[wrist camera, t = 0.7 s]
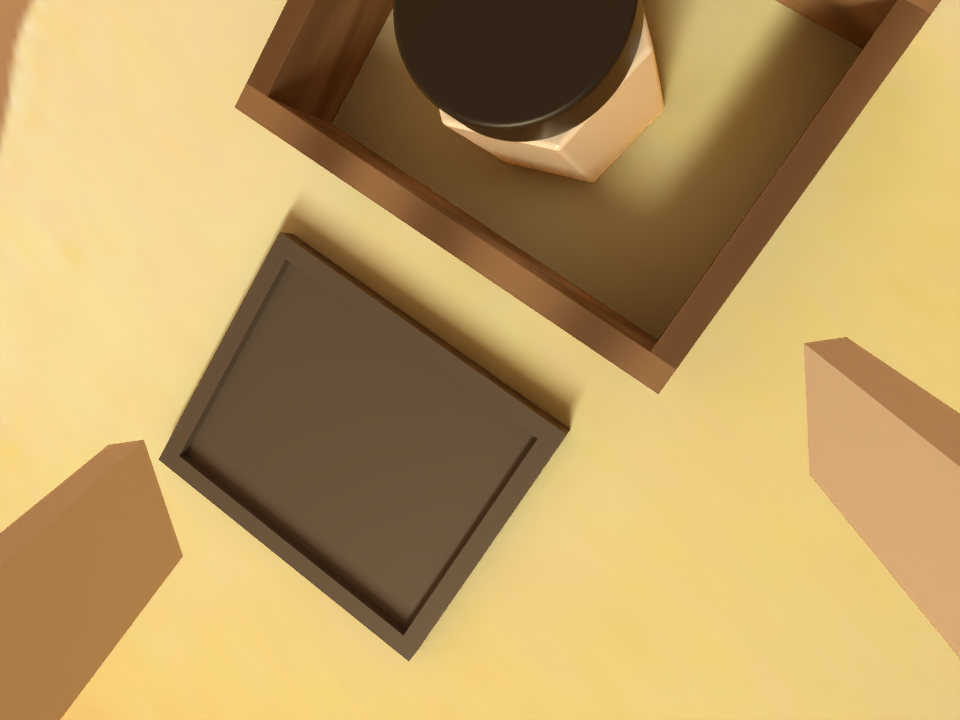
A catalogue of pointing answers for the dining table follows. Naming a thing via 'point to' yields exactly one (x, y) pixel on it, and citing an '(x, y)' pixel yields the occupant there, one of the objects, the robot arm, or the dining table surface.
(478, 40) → the jar
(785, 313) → the dining table surface
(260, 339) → the tray
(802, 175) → the crate
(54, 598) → the robot arm
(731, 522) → the dining table surface
